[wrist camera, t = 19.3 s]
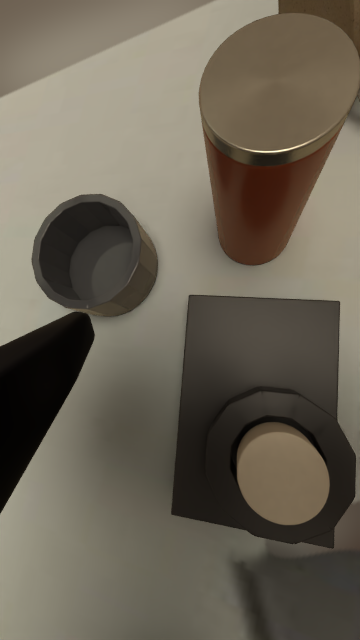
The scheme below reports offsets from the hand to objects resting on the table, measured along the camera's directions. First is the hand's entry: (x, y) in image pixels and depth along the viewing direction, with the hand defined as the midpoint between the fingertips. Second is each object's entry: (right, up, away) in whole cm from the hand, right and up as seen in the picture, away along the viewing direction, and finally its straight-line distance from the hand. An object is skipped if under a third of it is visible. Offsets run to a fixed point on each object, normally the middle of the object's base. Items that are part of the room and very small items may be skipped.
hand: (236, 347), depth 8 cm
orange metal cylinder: (+3, +6, +10) cm, 12 cm away
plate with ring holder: (+3, -4, +9) cm, 10 cm away
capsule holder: (-6, +4, +12) cm, 14 cm away
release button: (+3, -6, +5) cm, 8 cm away
